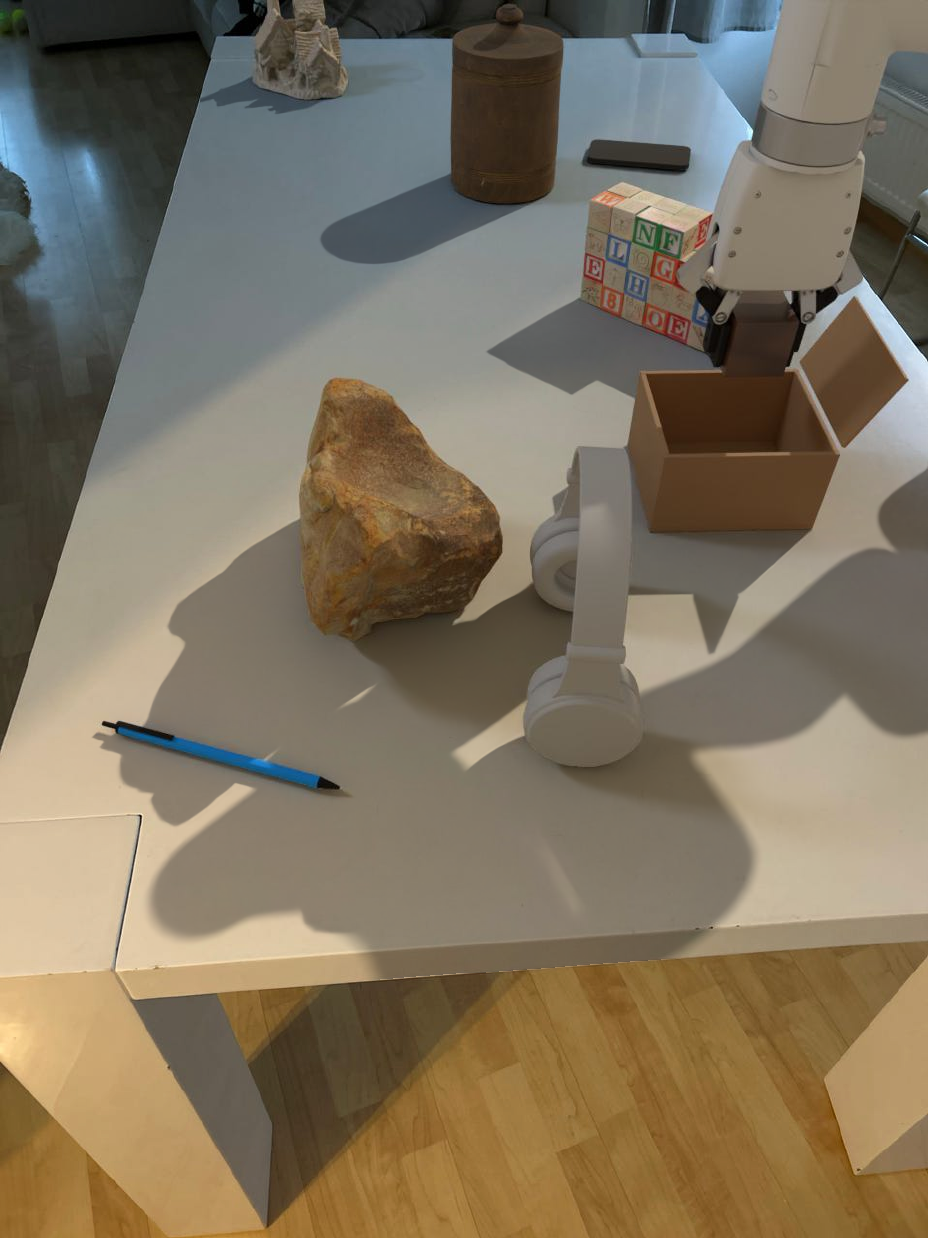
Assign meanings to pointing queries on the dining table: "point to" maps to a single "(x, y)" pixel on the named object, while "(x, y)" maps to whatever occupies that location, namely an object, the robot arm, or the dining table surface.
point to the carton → (729, 451)
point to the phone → (639, 154)
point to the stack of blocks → (645, 261)
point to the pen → (220, 755)
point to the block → (760, 335)
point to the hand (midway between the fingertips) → (747, 356)
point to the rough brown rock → (385, 518)
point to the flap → (852, 372)
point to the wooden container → (505, 109)
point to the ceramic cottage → (299, 53)
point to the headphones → (587, 618)
